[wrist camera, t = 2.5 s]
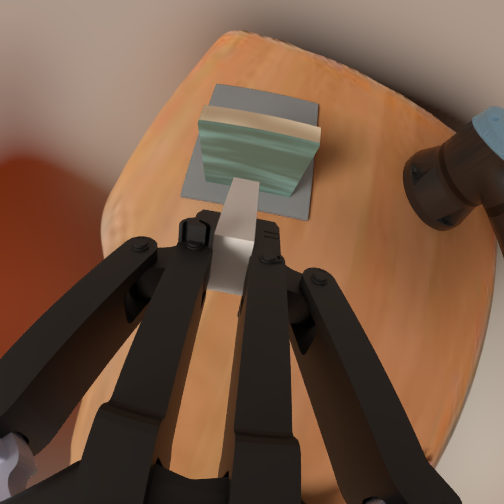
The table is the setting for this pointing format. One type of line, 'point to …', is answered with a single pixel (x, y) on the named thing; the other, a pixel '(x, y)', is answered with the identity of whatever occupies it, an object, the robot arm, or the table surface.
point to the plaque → (255, 148)
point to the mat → (265, 105)
